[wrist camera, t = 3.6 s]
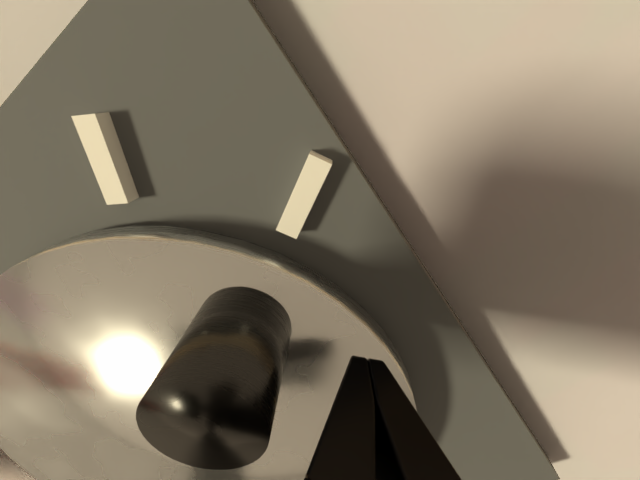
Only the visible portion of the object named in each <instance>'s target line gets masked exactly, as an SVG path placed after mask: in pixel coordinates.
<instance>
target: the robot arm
mask: <svg viewBox="0 0 640 480" xmlns="http://www.w3.org/2000/svg"><path fill="white" fill-rule="evenodd" d="M304 480H462V479H461V478H460V476H459V475H458V473H457V472H456V470H455V469H454V467H453V466H452V464H451V463H450V461H449V460H448V458H447V457H446V455H445V454H444V452H443V450H442V449H441V447H440V446H439V444H438V443H437V441H436V440H435V438H434V437H433V435H432V434H431V432H430V431H429V429H428V428H427V426H426V425H425V423H424V422H423V420H422V419H421V417H420V416H419V414H418V413H417V411H416V410H415V408H414V406H413V405H412V403H411V402H410V400H409V399H408V397H407V396H406V394H405V393H404V391H403V390H402V388H401V387H400V385H399V384H398V382H397V381H396V379H395V378H394V376H393V375H392V373H391V372H390V370H389V369H388V367H387V366H386V364H385V363H384V362H383V361H382V360H377V359H371V358H369V359H366V358H365V357H360V356H354V355H353V356H351V358H350V360H349V363H348V366H347V368H346V371H345V373H344V376H343V379H342V381H341V384H340V387H339V389H338V392H337V394H336V397H335V400H334V402H333V405H332V407H331V410H330V413H329V415H328V418H327V421H326V423H325V426H324V428H323V431H322V434H321V436H320V439H319V441H318V444H317V447H316V449H315V452H314V455H313V457H312V460H311V462H310V465H309V468H308V470H307V473H306V476H305V478H304Z"/></svg>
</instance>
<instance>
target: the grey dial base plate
mask: <svg viewBox="0 0 640 480" xmlns="http://www.w3.org/2000/svg"><path fill="white" fill-rule="evenodd" d="M125 226H175V227H183V228H191V229H200V230H206V231H211V232H215V233H219V234H223V235H227V236H231V237H236V238H240V239H243V240H246V241H249V242H252V243H254V244H257V245H260V246H263V247H265V248H268V249H271V250H274V251H276V252H279V253H281V254H283V255H285V256H287V257H289V258H291V259H293V260H295V261H297V262H299V263H301V264H303V265H305V266H307V267H309V268H311V269H312V270H314V271H315V272H317V273H319V274H320V275H322V276H323V277H325V278H326V279H328V280H329V281H331V282H332V283H334V284H335V285H337V286H338V287H340V288H341V289H342V290H343V291H345V292H346V293H347V294H348V295H349V296H351V297H352V298H353V299H354V300H355V301H356V302H358V303H359V304H360V305H361V306H362V307H363V308H365V310H366V311H367V312H368V313H369V314H370V315H371V316H372V317H373V318H374V320H375V321H376V322H377V323H378V324H379V325H380V326H381V327H382V328H383V330H384V331H385V333H386V334H387V336H388V337H389V339H390V340H391V342H392V343H393V345H394V346H395V348H396V349H397V351H398V352H399V355H400V357H401V359H402V361H403V363H404V366H405V368H406V370H407V372H408V376H409V380H410V384H411V388H412V392H413V396H414V400H415V405H416V409H417V413H418V414H419V416H420V417H421V419H422V420H423V422H424V423H425V425H426V426H427V428H428V429H429V431H430V432H431V434H432V435H433V437H434V438H435V440H436V441H437V443H438V444H439V446H440V447H441V449H442V450H443V452H444V454H445V455H446V457H447V458H448V460H449V461H450V463H451V464H452V466H453V467H454V469H455V470H456V472H457V473H458V475H459V476H460V478H461V479H462V480H559V479H560V478H559V476H558V475H557V473H556V471H555V469H554V467H553V466H552V464H551V462H550V460H549V459H548V457H547V455H546V454H545V452H544V451H543V449H542V448H541V446H540V445H539V443H538V442H537V440H536V439H535V437H534V435H533V434H532V432H531V431H530V429H529V428H528V426H527V425H526V423H525V422H524V420H523V418H522V417H521V415H520V414H519V412H518V411H517V409H516V408H515V406H514V405H513V403H512V401H511V400H510V398H509V397H508V395H507V394H506V392H505V391H504V389H503V388H502V386H501V385H500V383H499V381H498V380H497V378H496V377H495V375H494V374H493V372H492V371H491V369H490V368H489V366H488V364H487V363H486V361H485V360H484V358H483V357H482V355H481V354H480V352H479V351H478V349H477V347H476V346H475V344H474V343H473V341H472V340H471V338H470V337H469V335H468V334H467V332H466V331H465V329H464V327H463V326H462V324H461V323H460V321H459V320H458V318H457V317H456V315H455V314H454V312H453V310H452V309H451V307H450V306H449V304H448V303H447V301H446V300H445V298H444V297H443V295H442V293H441V292H440V290H439V289H438V287H437V286H436V284H435V283H434V281H433V280H432V278H431V277H430V275H429V273H428V272H427V270H426V269H425V267H424V266H423V264H422V263H421V261H420V260H419V258H418V256H417V255H416V253H415V252H414V250H413V249H412V247H411V246H410V244H409V243H408V241H407V239H406V238H405V236H404V235H403V233H402V232H401V230H400V229H399V227H398V226H397V224H396V223H395V221H394V219H393V218H392V216H391V215H390V213H389V212H388V210H387V209H386V207H385V206H384V204H383V202H382V201H381V199H380V198H379V196H378V195H377V193H376V192H375V190H374V189H373V187H372V185H371V184H370V182H369V181H368V179H367V178H366V176H365V175H364V173H363V172H362V170H361V169H360V167H359V165H358V164H357V162H356V161H355V159H354V158H353V156H352V155H351V153H350V152H349V150H348V148H347V147H346V145H345V144H344V142H343V141H342V139H341V138H340V136H339V135H338V133H337V131H336V130H335V128H334V127H333V125H332V124H331V122H330V121H329V119H328V118H327V116H326V115H325V113H324V111H323V110H322V108H321V107H320V105H319V104H318V102H317V101H316V99H315V98H314V96H313V94H312V93H311V91H310V90H309V88H308V87H307V85H306V84H305V82H304V81H303V79H302V77H301V76H300V74H299V73H298V71H297V70H296V68H295V67H294V65H293V64H292V62H291V61H290V59H289V57H288V56H287V54H286V53H285V51H284V50H283V48H282V47H281V45H280V44H279V42H278V40H277V39H276V37H275V36H274V34H273V33H272V31H271V30H270V28H269V27H268V25H267V23H266V22H265V20H264V19H263V17H262V16H261V14H260V13H259V11H258V10H257V8H256V7H255V5H254V3H253V2H252V0H88V1H87V2H86V3H85V5H84V6H83V7H82V8H81V10H80V11H79V12H78V13H77V14H76V16H75V17H74V18H73V19H72V20H71V22H70V23H69V24H68V25H67V27H66V28H65V29H64V30H63V31H62V33H61V34H60V35H59V36H58V37H57V39H56V40H55V41H54V42H53V44H52V45H51V46H50V47H49V48H48V50H47V51H46V52H45V53H44V54H43V56H42V57H41V58H40V59H39V60H38V62H37V63H36V64H35V65H34V67H33V68H32V69H31V70H30V71H29V73H28V74H27V75H26V76H25V77H24V79H23V80H22V81H21V82H20V84H19V85H18V86H17V87H16V88H15V90H14V91H13V92H12V93H11V94H10V96H9V97H8V98H7V99H6V101H5V102H4V103H3V104H2V105H1V107H0V275H1V274H2V273H4V272H5V271H6V270H8V269H9V268H11V267H13V266H15V265H16V264H18V263H20V262H22V261H24V260H26V259H27V258H29V257H31V256H33V255H35V254H37V253H39V252H40V251H42V250H44V249H47V248H49V247H51V246H53V245H55V244H57V243H59V242H61V241H64V240H66V239H68V238H72V237H75V236H79V235H82V234H86V233H89V232H93V231H96V230H102V229H110V228H117V227H125Z"/></svg>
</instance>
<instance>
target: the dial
mask: <svg viewBox="0 0 640 480" xmlns="http://www.w3.org/2000/svg"><path fill="white" fill-rule="evenodd" d="M353 355H354V356H360V357H365V358H366V359H369V358H371V359H377V360H382V361H383V362H384V363H385V364H386V366H387V367H388V369H389V370H390V372H391V373H392V375H393V376H394V378H395V379H396V381H397V382H398V384H399V385H400V387H401V388H402V390H403V391H404V393H405V394H406V396H407V397H408V399H409V400H410V402H411V403H412V405H413V406H414V408H415V410H416V411H417V409H416V405H415V400H414V396H413V392H412V388H411V384H410V380H409V376H408V372H407V370H406V368H405V366H404V363H403V361H402V359H401V357H400V355H399V352H398V351H397V349H396V348H395V346H394V345H393V343H392V342H391V340H390V339H389V337H388V336H387V334H386V333H385V331H384V330H383V328H382V327H381V326H380V325H379V324H378V323H377V322H376V321H375V320H374V318H373V317H372V316H371V315H370V314H369V313H368V312H367V311H366V310H365V308H363V307H362V306H361V305H360V304H359V303H358V302H356V301H355V300H354V299H353V298H352V297H351V296H349V295H348V294H347V293H346V292H345V291H343V290H342V289H341V288H340V287H338V286H337V285H335V284H334V283H332V282H331V281H329V280H328V279H326V278H325V277H323V276H322V275H320V274H319V273H317V272H315V271H314V270H312V269H311V268H309V267H307V266H305V265H303V264H301V263H299V262H297V261H295V260H293V259H291V258H289V257H287V256H285V255H283V254H281V253H279V252H276V251H274V250H271V249H268V248H265V247H263V246H260V245H257V244H254V243H252V242H249V241H246V240H243V239H240V238H236V237H231V236H227V235H223V234H219V233H215V232H211V231H206V230H200V229H191V228H183V227H175V226H125V227H117V228H110V229H102V230H96V231H93V232H89V233H86V234H82V235H79V236H75V237H72V238H68V239H66V240H64V241H61V242H59V243H57V244H55V245H53V246H51V247H49V248H47V249H44V250H42V251H40V252H39V253H37V254H35V255H33V256H31V257H29V258H27V259H26V260H24V261H22V262H20V263H18V264H16V265H15V266H13V267H11V268H9V269H8V270H6V271H5V272H4V273H2V274H1V275H0V448H1V449H2V450H3V451H4V452H5V453H6V455H7V456H8V457H9V458H11V459H12V460H13V461H14V462H15V463H16V464H18V465H19V466H20V467H21V468H22V469H23V470H24V471H26V472H27V473H28V474H30V475H31V476H32V477H34V478H35V479H36V480H304V478H305V476H306V473H307V470H308V468H309V465H310V462H311V460H312V457H313V455H314V452H315V449H316V447H317V444H318V441H319V439H320V436H321V434H322V431H323V428H324V426H325V423H326V421H327V418H328V415H329V413H330V410H331V407H332V405H333V402H334V400H335V397H336V394H337V392H338V389H339V387H340V384H341V381H342V379H343V376H344V373H345V371H346V368H347V366H348V363H349V360H350V358H351V356H353Z"/></svg>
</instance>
